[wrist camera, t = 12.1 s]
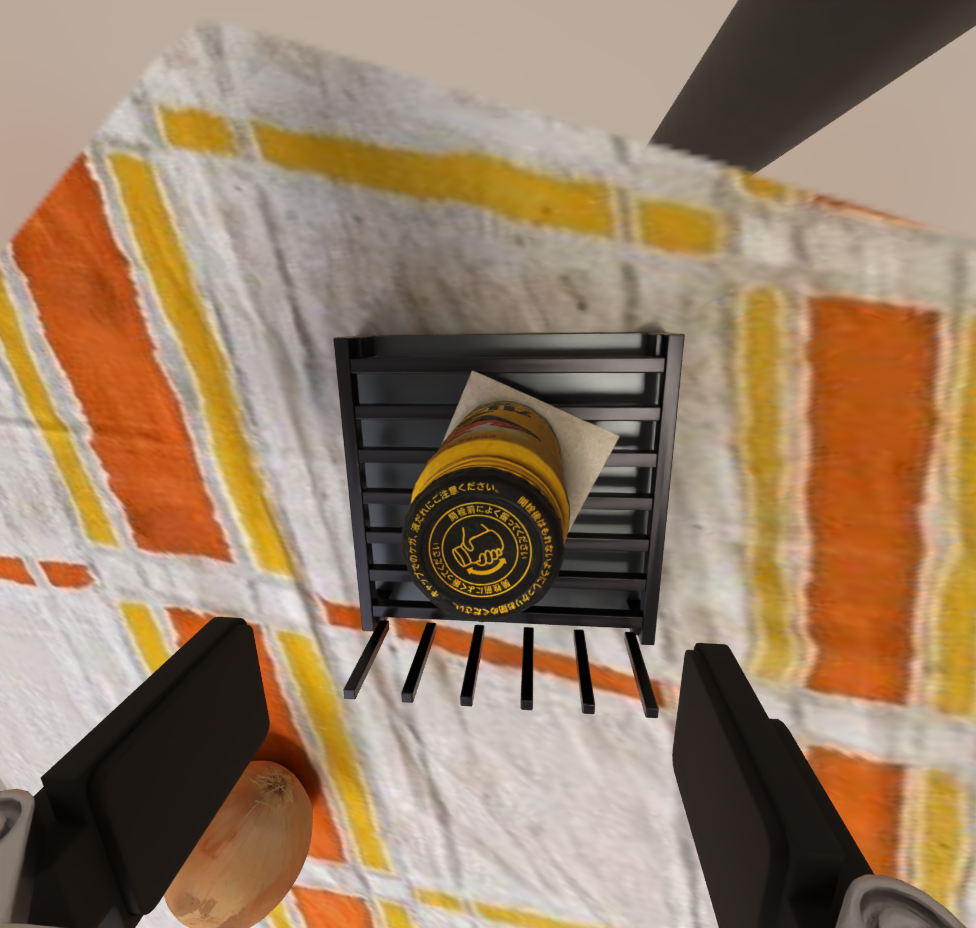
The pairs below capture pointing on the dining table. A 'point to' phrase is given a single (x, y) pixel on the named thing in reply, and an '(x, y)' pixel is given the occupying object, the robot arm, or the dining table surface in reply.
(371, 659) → the dish rack
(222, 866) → the onion
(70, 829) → the robot arm
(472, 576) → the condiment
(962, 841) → the dining table surface
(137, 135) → the dining table surface
